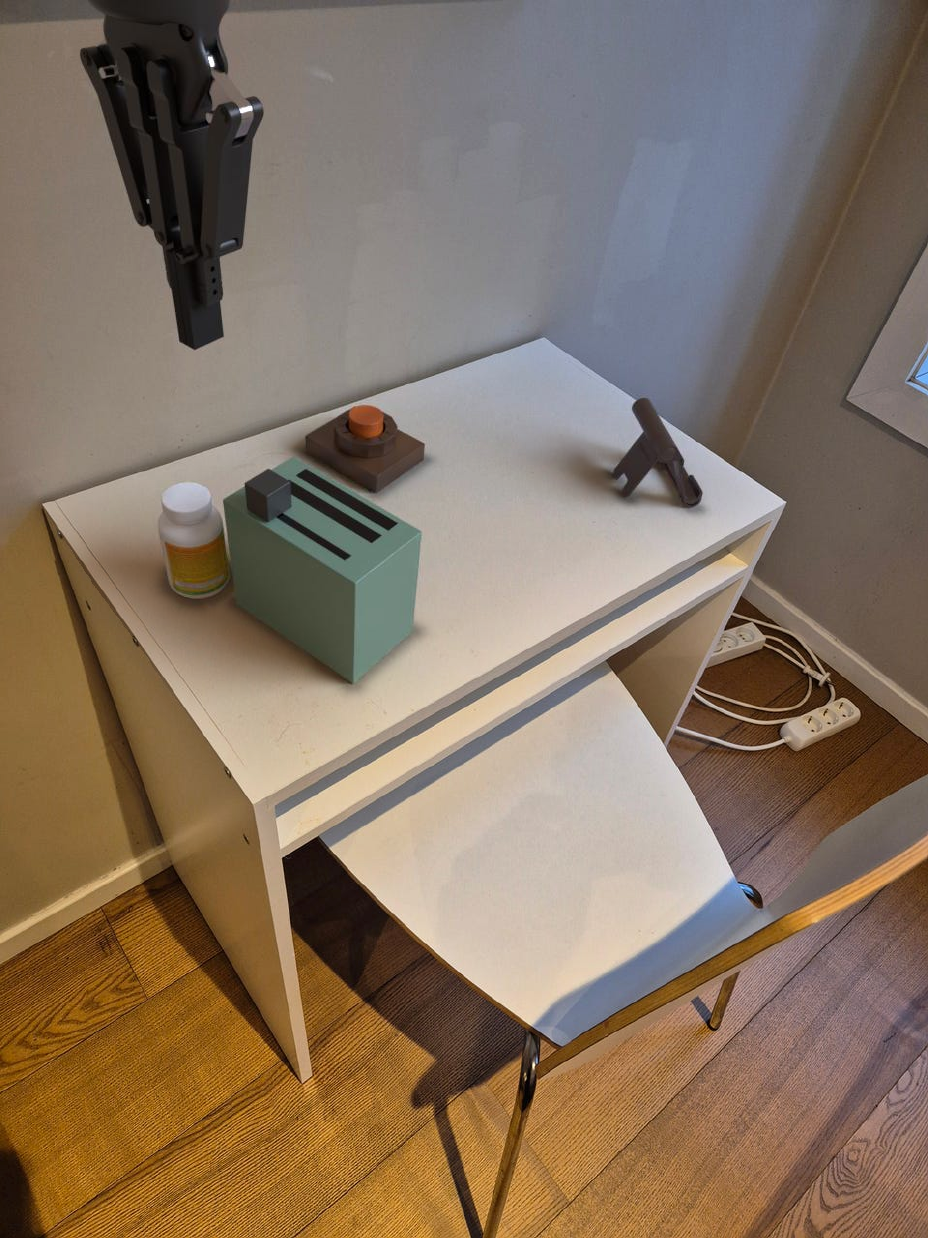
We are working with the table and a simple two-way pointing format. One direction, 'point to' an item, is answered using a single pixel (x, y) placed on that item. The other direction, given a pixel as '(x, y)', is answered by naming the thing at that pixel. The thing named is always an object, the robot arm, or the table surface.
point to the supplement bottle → (193, 541)
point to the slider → (268, 495)
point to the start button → (366, 421)
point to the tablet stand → (656, 456)
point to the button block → (365, 451)
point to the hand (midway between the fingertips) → (201, 338)
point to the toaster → (326, 570)
